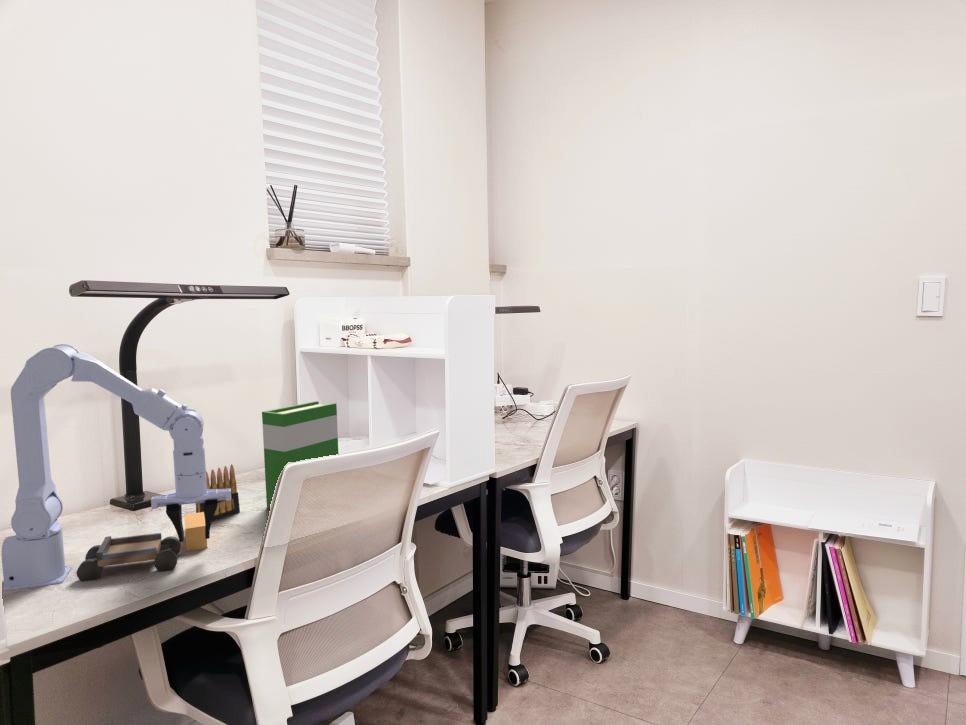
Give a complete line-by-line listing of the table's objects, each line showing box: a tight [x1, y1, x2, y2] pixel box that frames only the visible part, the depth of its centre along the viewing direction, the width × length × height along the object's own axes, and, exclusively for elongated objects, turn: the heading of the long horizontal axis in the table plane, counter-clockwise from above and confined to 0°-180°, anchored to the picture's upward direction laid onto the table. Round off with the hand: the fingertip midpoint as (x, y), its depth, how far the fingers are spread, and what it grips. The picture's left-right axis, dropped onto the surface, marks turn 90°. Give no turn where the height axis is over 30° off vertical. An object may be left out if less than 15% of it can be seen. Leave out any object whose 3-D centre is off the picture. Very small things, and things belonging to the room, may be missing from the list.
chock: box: [183, 512, 208, 552], centre depth 150 cm, size 4×10×5 cm, turn 24°
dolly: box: [76, 532, 182, 582], centre depth 136 cm, size 17×9×6 cm, turn 109°
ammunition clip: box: [195, 464, 241, 523], centre depth 165 cm, size 11×2×12 cm, turn 147°
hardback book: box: [261, 400, 339, 509], centre depth 176 cm, size 18×7×24 cm, turn 147°
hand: (194, 538), depth 139 cm, fingers open, 4 cm apart
